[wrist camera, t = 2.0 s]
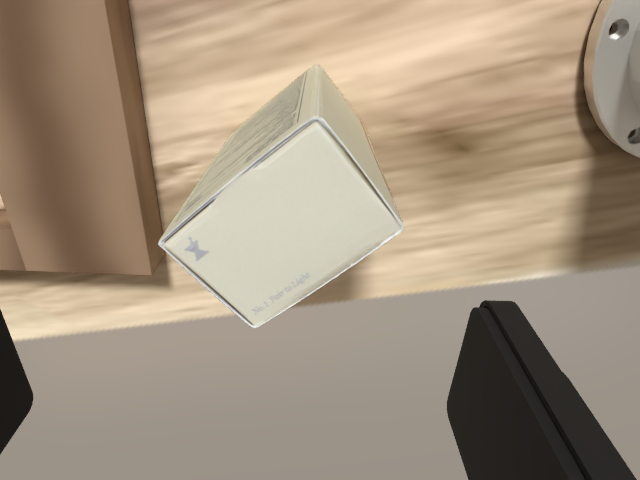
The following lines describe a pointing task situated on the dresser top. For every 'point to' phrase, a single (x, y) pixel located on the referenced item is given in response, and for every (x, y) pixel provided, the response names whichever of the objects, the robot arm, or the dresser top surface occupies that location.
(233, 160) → the skincare box
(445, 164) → the dresser top surface
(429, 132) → the dresser top surface
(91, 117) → the notched board
